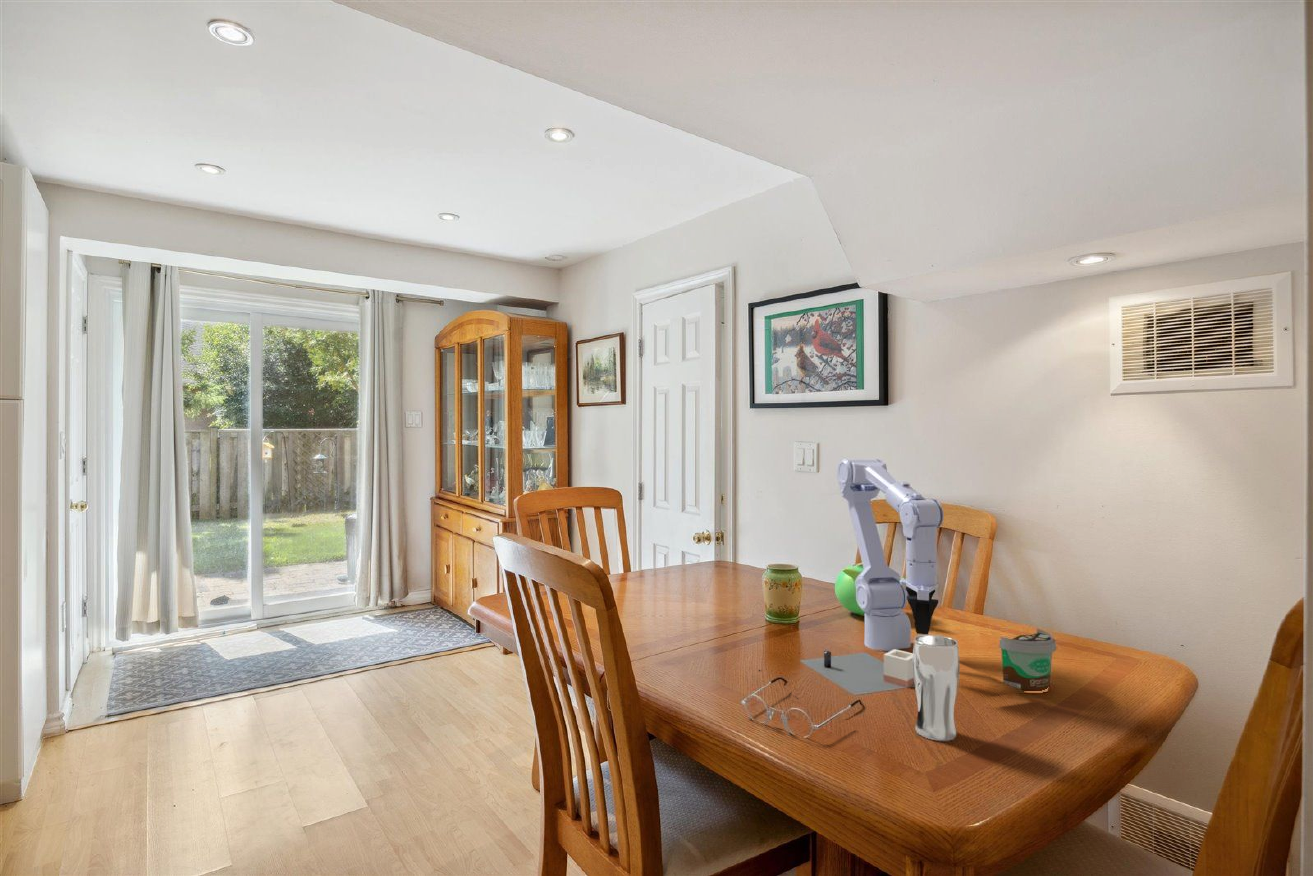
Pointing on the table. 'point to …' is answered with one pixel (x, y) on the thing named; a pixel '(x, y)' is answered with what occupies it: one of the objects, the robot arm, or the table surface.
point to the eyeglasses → (788, 710)
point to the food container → (1028, 660)
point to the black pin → (827, 659)
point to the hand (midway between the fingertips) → (921, 628)
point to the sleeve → (898, 668)
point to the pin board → (855, 673)
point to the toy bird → (849, 588)
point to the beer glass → (935, 685)
